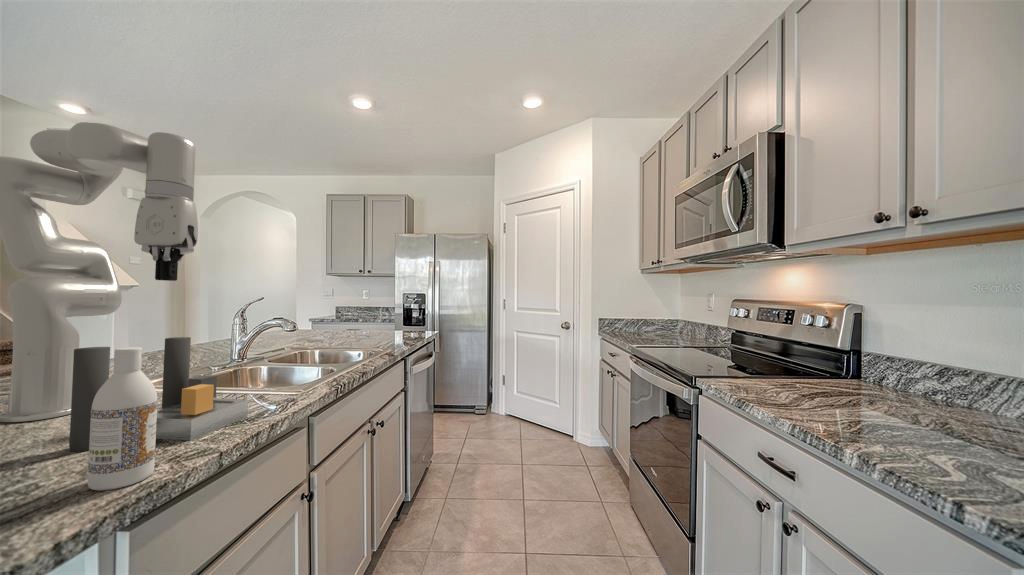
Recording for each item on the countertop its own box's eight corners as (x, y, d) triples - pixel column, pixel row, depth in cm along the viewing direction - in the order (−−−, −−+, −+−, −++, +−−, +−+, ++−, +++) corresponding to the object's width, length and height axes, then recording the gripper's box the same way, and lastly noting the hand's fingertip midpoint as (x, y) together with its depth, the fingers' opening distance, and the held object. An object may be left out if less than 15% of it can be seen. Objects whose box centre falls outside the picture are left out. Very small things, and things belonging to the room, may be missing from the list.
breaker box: (133, 437, 72) (134, 415, 72) (198, 414, 86) (199, 396, 86) (190, 440, 71) (191, 418, 71) (247, 417, 85) (248, 398, 85)
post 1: (61, 451, 65) (66, 349, 65) (91, 441, 69) (95, 346, 70) (84, 452, 65) (89, 350, 65) (112, 443, 69) (117, 347, 70)
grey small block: (187, 401, 81) (188, 378, 81) (203, 396, 85) (204, 375, 85) (200, 402, 81) (201, 379, 81) (215, 397, 85) (216, 375, 85)
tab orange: (180, 414, 73) (182, 388, 73) (199, 408, 77) (200, 384, 77) (195, 414, 73) (196, 389, 73) (212, 408, 77) (213, 384, 77)
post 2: (155, 419, 82) (159, 338, 83) (174, 413, 86) (178, 336, 87) (173, 420, 82) (177, 339, 82) (192, 414, 86) (195, 337, 87)
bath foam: (143, 485, 54) (150, 350, 55) (76, 496, 51) (83, 352, 52) (161, 466, 60) (166, 344, 61) (101, 475, 57) (108, 346, 58)
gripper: (117, 189, 75) (113, 278, 74) (186, 189, 74) (182, 280, 73) (155, 199, 82) (151, 280, 82) (218, 199, 81) (214, 281, 81)
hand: (166, 280), depth 78 cm, fingers closed
